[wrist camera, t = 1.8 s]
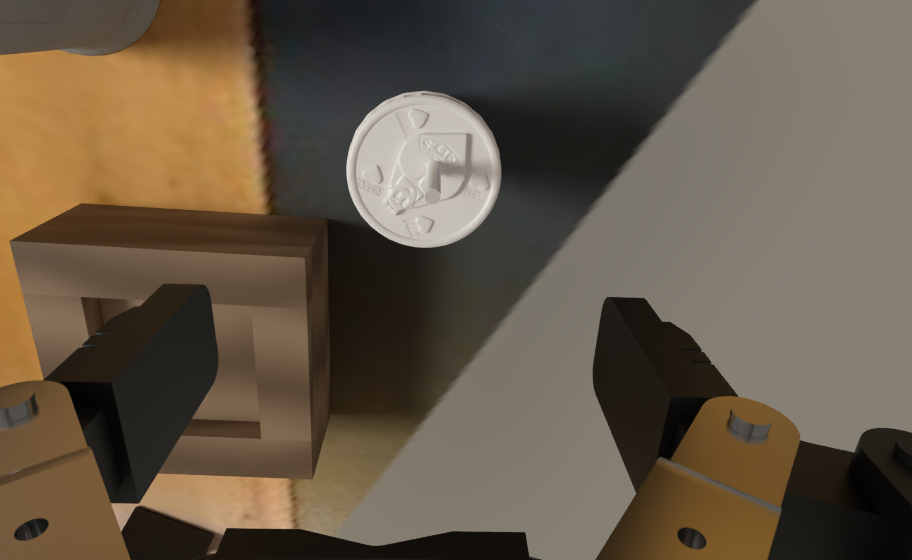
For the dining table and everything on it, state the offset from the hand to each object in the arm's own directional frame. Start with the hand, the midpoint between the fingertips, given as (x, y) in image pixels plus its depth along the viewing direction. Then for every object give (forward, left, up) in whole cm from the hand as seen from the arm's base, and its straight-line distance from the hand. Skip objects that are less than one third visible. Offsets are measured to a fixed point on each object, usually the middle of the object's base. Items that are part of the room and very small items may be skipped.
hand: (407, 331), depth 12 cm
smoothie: (0, 0, -23) cm, 23 cm away
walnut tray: (+12, -13, -23) cm, 29 cm away
